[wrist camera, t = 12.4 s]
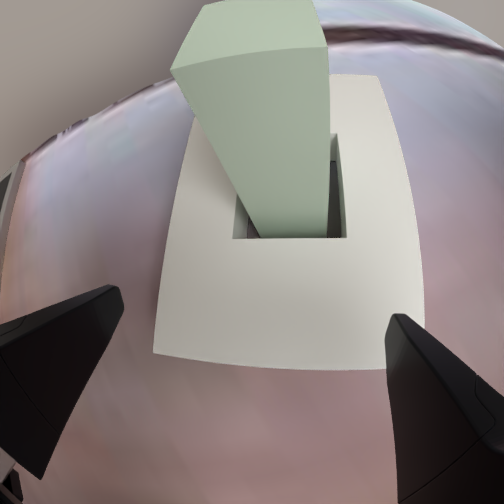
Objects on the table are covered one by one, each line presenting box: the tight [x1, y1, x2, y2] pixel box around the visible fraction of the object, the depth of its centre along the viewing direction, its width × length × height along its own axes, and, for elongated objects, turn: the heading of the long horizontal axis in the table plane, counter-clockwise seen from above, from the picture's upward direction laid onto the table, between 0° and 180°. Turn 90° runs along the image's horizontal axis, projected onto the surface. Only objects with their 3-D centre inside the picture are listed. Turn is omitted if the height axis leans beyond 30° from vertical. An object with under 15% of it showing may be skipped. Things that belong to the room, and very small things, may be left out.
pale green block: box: [170, 0, 330, 239], centre depth 12 cm, size 5×4×13 cm
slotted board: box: [153, 74, 424, 370], centre depth 17 cm, size 20×14×3 cm
